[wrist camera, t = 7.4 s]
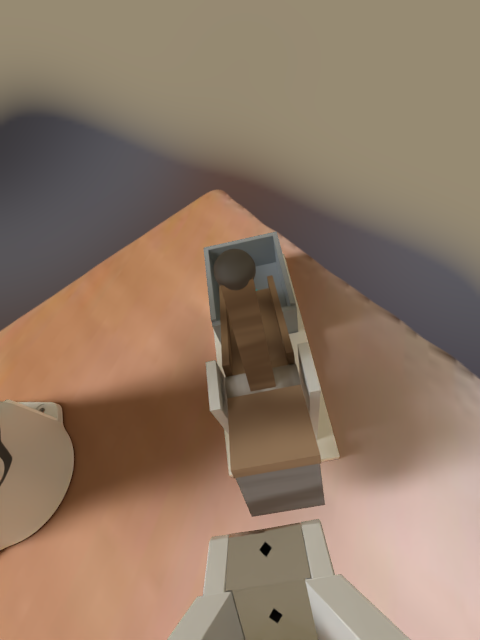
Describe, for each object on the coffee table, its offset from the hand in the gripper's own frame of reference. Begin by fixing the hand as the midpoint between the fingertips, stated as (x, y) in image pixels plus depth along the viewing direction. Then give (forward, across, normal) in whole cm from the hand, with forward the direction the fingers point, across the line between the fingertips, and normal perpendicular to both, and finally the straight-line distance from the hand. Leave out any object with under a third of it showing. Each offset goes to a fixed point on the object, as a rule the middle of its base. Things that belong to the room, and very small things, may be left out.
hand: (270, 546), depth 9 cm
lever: (+24, 0, +8) cm, 25 cm away
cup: (+41, 0, 0) cm, 41 cm away
